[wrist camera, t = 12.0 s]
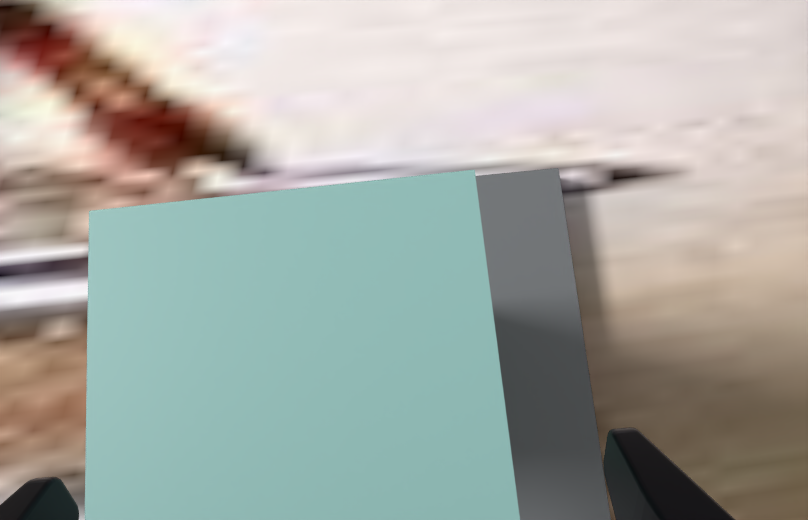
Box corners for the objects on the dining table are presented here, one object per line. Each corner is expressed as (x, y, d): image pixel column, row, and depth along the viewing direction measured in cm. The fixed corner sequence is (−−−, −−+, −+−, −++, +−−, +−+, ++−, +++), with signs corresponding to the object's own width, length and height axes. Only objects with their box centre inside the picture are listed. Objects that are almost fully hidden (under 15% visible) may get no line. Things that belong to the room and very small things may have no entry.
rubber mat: (612, 584, 19) (622, 595, 18) (186, 619, 19) (174, 631, 18) (552, 177, 22) (558, 168, 21) (183, 212, 22) (172, 204, 21)
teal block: (462, 455, 19) (530, 596, 6) (310, 470, 19) (83, 638, 7) (445, 303, 20) (474, 169, 8) (301, 318, 20) (89, 210, 8)
